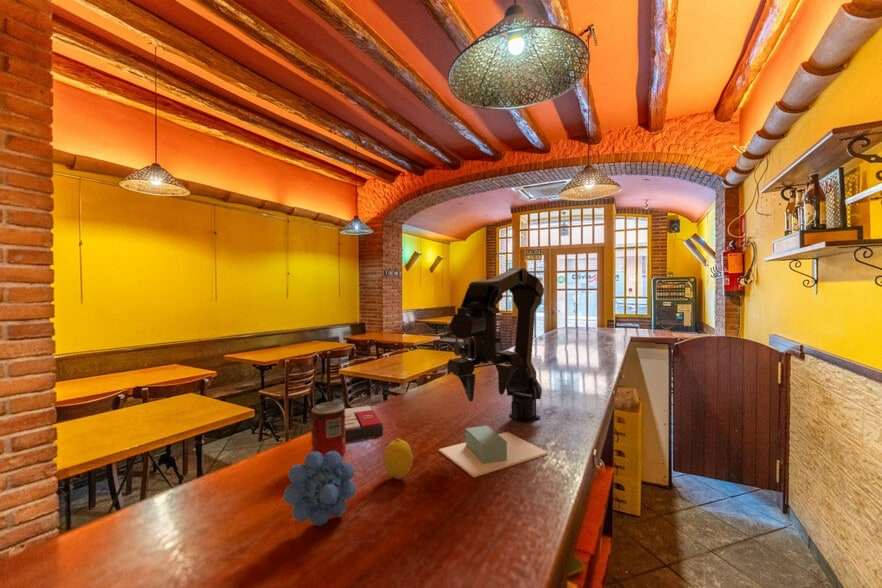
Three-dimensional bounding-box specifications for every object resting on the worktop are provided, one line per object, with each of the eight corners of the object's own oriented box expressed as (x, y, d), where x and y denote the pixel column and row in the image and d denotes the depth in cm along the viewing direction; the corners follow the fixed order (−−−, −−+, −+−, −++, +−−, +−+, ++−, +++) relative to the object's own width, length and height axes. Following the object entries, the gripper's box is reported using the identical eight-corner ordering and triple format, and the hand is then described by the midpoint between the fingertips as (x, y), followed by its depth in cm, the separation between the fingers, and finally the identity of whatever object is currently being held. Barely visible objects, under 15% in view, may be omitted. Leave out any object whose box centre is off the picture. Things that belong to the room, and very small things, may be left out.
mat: (507, 433, 97) (507, 431, 97) (547, 454, 85) (547, 452, 85) (438, 451, 87) (438, 449, 87) (473, 477, 75) (473, 474, 75)
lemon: (417, 474, 76) (416, 434, 76) (405, 488, 71) (405, 445, 71) (392, 470, 78) (391, 431, 78) (379, 483, 73) (378, 442, 73)
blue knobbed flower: (294, 555, 53) (292, 470, 53) (279, 532, 59) (277, 454, 58) (368, 522, 61) (367, 447, 61) (348, 504, 66) (347, 435, 66)
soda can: (352, 459, 83) (351, 404, 83) (323, 472, 78) (322, 412, 77) (333, 451, 88) (332, 398, 87) (305, 462, 82) (304, 406, 82)
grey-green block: (506, 460, 81) (506, 441, 81) (483, 464, 79) (483, 445, 79) (487, 442, 91) (487, 425, 90) (465, 445, 89) (465, 428, 89)
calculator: (339, 429, 93) (332, 408, 106) (339, 446, 93) (332, 423, 107) (383, 422, 97) (371, 403, 111) (383, 439, 97) (371, 417, 111)
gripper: (494, 327, 103) (495, 384, 103) (434, 333, 93) (436, 396, 94) (522, 331, 93) (524, 394, 94) (459, 338, 84) (461, 408, 84)
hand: (486, 397), depth 92 cm, fingers open, 9 cm apart
